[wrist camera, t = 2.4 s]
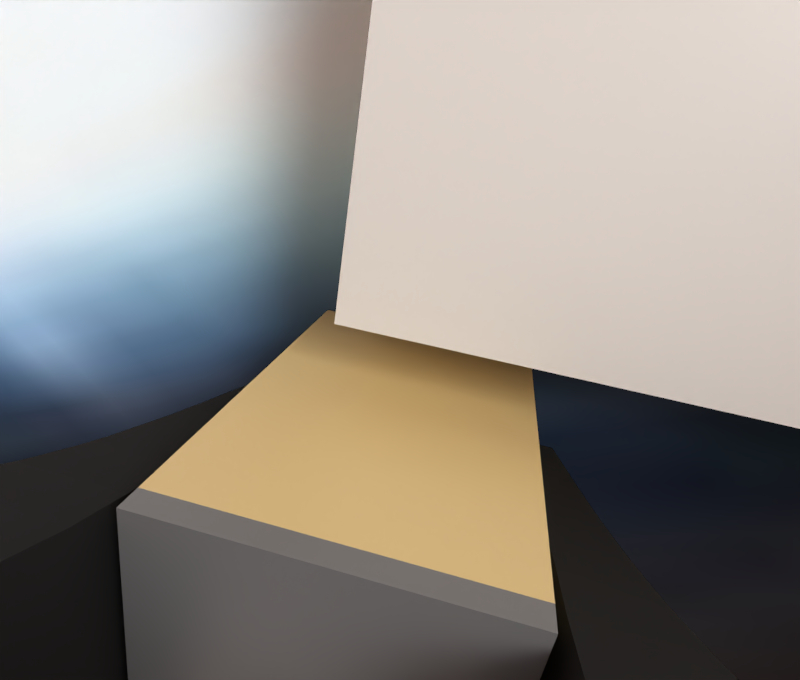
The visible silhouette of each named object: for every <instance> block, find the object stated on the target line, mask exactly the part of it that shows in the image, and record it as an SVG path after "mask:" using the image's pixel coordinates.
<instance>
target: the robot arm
mask: <svg viewBox="0 0 800 680" xmlns="http://www.w3.org/2000/svg"><path fill="white" fill-rule="evenodd" d="M246 386H247V385H246ZM246 386H243V387H241V388H238V389H235V390H233V391H230V392H228V393H225V394H223V395H220V396H218V397H215V398H213V399H210V400H208V401H205V402H202V403H200V404H197V405H195V406H192V407H190V408H187V409H184V410H182V411H179V412H177V413H174V414H171V415H169V416H166V417H163V418H160V419H157V420H154V421H151V422H148V423H145V424H143V425H140V426H137V427H134V428H131V429H128V430H125V431H122V432H119V433H116V434H113V435H111V436H107V437H104V438H101V439H98V440H94V441H91V442H87V443H84V444H81V445H77V446H74V447H70V448H66V449H62V450H58V451H54V452H51V453H47V454H43V455H39V456H35V457H31V458H27V459H23V460H19V461H14V462H9V463H5V464H0V680H128V672H127V658H126V643H125V628H124V614H123V599H122V585H121V570H120V555H119V541H118V526H117V512H116V508H117V507H118V506H119V505H120V504H121V503H122V502H123V501H124V500H125V499H126V498H127V497H128V496H129V495H130V494H132V493H133V492H134V491H135V490H136V489H137V488H138V487H139V486H140V485H141V484H142V483H143V482H144V481H145V480H146V479H148V478H149V477H150V476H151V475H152V474H153V473H154V472H155V471H156V470H157V469H158V468H159V467H160V466H161V465H163V464H164V463H165V462H166V461H167V460H168V459H169V458H170V457H171V456H172V455H173V454H174V453H175V452H176V451H178V450H179V449H180V448H181V447H182V446H183V445H184V444H185V443H186V442H187V441H188V440H189V439H190V438H191V437H192V436H194V435H195V434H196V433H197V432H198V431H199V430H200V429H201V428H202V427H203V426H204V425H205V424H206V423H207V422H209V421H210V420H211V419H212V418H213V417H214V416H215V415H216V414H217V413H218V412H219V411H220V410H221V409H222V408H224V407H225V406H226V405H227V404H228V403H229V402H230V401H231V400H232V399H233V398H234V397H235V396H236V395H237V394H239V393H240V392H241V391H242V390H243V389H244V388H245V387H246ZM539 447H540V457H541V467H542V477H543V487H544V497H545V507H546V517H547V527H548V537H549V547H550V557H551V567H552V577H553V588H554V598H555V608H556V618H557V628H558V636H557V638H556V641H555V643H554V646H553V648H552V651H551V653H550V656H549V658H548V661H547V663H546V666H545V668H544V671H543V673H542V676H541V678H540V680H738V679H737V678H736V677H735V676H734V675H733V674H732V673H731V672H730V671H729V670H728V669H727V668H726V667H725V666H724V665H723V664H722V663H721V662H720V661H719V660H718V659H717V658H716V657H715V656H714V655H713V653H712V652H711V651H710V650H709V649H708V648H707V647H706V646H705V645H704V644H703V643H702V642H701V641H700V640H699V638H698V637H697V636H696V635H695V634H694V633H693V632H692V631H691V630H690V629H689V628H688V627H687V625H686V624H685V623H684V622H683V621H682V620H681V619H680V618H679V617H678V616H677V615H676V614H675V613H674V611H673V610H672V609H671V608H670V607H669V606H668V605H667V603H666V602H665V601H664V600H663V599H662V598H661V597H660V595H659V594H658V593H657V592H656V591H655V590H654V588H653V587H652V586H651V585H650V584H649V582H648V581H647V580H646V579H645V577H644V576H643V575H642V574H641V572H640V571H639V570H638V569H637V567H636V566H635V565H634V564H633V562H632V561H631V560H630V559H629V557H628V556H627V555H626V554H625V552H624V551H623V550H622V549H621V547H620V546H619V545H618V543H617V542H616V541H615V539H614V538H613V537H612V535H611V534H610V533H609V531H608V530H607V528H606V527H605V526H604V524H603V523H602V522H601V520H600V519H599V517H598V516H597V514H596V513H595V512H594V510H593V509H592V507H591V506H590V504H589V503H588V502H587V500H586V499H585V497H584V496H583V494H582V493H581V491H580V490H579V488H578V487H577V485H576V484H575V482H574V481H573V479H572V478H571V476H570V475H569V473H568V472H567V470H566V468H565V467H564V465H563V464H562V462H561V461H560V459H559V458H558V456H557V455H556V453H555V452H554V450H553V449H552V448H550V447H546V446H542V445H539Z"/></svg>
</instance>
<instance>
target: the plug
mask: <svg viewBox="0 0 800 680" xmlns="http://www.w3.org/2000/svg"><path fill="white" fill-rule="evenodd" d="M335 313H336V312H335V311H331V310H327V311H326V312H325V313H324V314H323V315H322V316H321V317H320V318H319V319H318V320H317V321H316V322H314V323H313V324H312V325H311V326H310V327H309V328H308V329H307V330H306V331H305V332H304V333H303V334H302V335H301V336H299V337H298V338H297V339H296V340H295V341H294V342H293V343H292V344H291V345H290V346H289V347H288V348H287V349H286V350H285V351H283V352H282V353H281V354H280V355H279V356H278V357H277V358H276V359H275V360H274V361H273V362H272V363H271V364H270V365H268V366H267V367H266V368H265V369H264V370H263V371H262V372H261V373H260V374H259V375H258V376H257V377H256V378H255V379H253V380H252V381H251V382H250V383H249V384H248V385H247V386H246V387H245V388H244V389H243V390H242V391H241V392H240V393H239V394H237V395H236V396H235V397H234V398H233V399H232V400H231V401H230V402H229V403H228V404H227V405H226V406H225V407H224V408H222V409H221V410H220V411H219V412H218V413H217V414H216V415H215V416H214V417H213V418H212V419H211V420H210V421H209V422H207V423H206V424H205V425H204V426H203V427H202V428H201V429H200V430H199V431H198V432H197V433H196V434H195V435H194V436H192V437H191V438H190V439H189V440H188V441H187V442H186V443H185V444H184V445H183V446H182V447H181V448H180V449H179V450H178V451H176V452H175V453H174V454H173V455H172V456H171V457H170V458H169V459H168V460H167V461H166V462H165V463H164V464H163V465H161V466H160V467H159V468H158V469H157V470H156V471H155V472H154V473H153V474H152V475H151V476H150V477H149V478H148V479H146V480H145V481H144V482H143V483H142V484H141V485H140V486H139V487H138V488H137V489H136V490H135V491H134V492H133V493H132V494H130V495H129V496H128V497H127V498H126V499H125V500H124V501H123V502H122V503H121V504H120V505H119V506H118V507H117V508H116V512H117V526H118V541H119V555H120V570H121V585H122V599H123V614H124V628H125V643H126V658H127V672H128V680H540V678H541V676H542V673H543V671H544V668H545V666H546V663H547V661H548V658H549V656H550V653H551V651H552V648H553V646H554V643H555V641H556V638H557V636H558V628H557V618H556V608H555V598H554V588H553V577H552V567H551V557H550V547H549V537H548V527H547V517H546V507H545V497H544V487H543V477H542V467H541V457H540V447H539V437H538V427H537V417H536V407H535V397H534V387H533V377H532V368H528V367H523V366H519V365H515V364H510V363H506V362H501V361H497V360H492V359H488V358H484V357H479V356H475V355H470V354H466V353H461V352H457V351H452V350H448V349H444V348H439V347H435V346H430V345H426V344H421V343H417V342H412V341H408V340H404V339H399V338H395V337H390V336H386V335H381V334H377V333H373V332H368V331H364V330H359V329H355V328H350V327H346V326H341V325H337V324H334V322H335Z"/></svg>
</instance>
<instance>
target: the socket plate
mask: <svg viewBox="0 0 800 680" xmlns="http://www.w3.org/2000/svg"><path fill="white" fill-rule="evenodd" d="M334 324H337V325H341V326H346V327H350V328H355V329H359V330H364V331H368V332H373V333H377V334H381V335H386V336H390V337H395V338H399V339H404V340H408V341H412V342H417V343H421V344H426V345H430V346H435V347H439V348H444V349H448V350H452V351H457V352H461V353H466V354H470V355H475V356H479V357H484V358H488V359H492V360H497V361H501V362H506V363H510V364H515V365H519V366H523V367H528V368H532V369H537V370H541V371H546V372H550V373H555V374H559V375H563V376H568V377H572V378H577V379H581V380H586V381H590V382H594V383H599V384H603V385H608V386H612V387H617V388H621V389H626V390H630V391H634V392H639V393H643V394H648V395H652V396H657V397H661V398H665V399H670V400H674V401H679V402H683V403H688V404H692V405H697V406H701V407H705V408H710V409H714V410H719V411H723V412H728V413H732V414H736V415H741V416H745V417H750V418H754V419H759V420H763V421H768V422H772V423H776V424H781V425H785V426H790V427H794V428H799V429H800V0H372V8H371V16H370V25H369V33H368V42H367V50H366V59H365V67H364V76H363V84H362V93H361V101H360V110H359V118H358V127H357V135H356V144H355V152H354V161H353V169H352V177H351V186H350V194H349V203H348V211H347V220H346V228H345V237H344V245H343V254H342V262H341V271H340V279H339V288H338V296H337V305H336V313H335V322H334Z"/></svg>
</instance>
